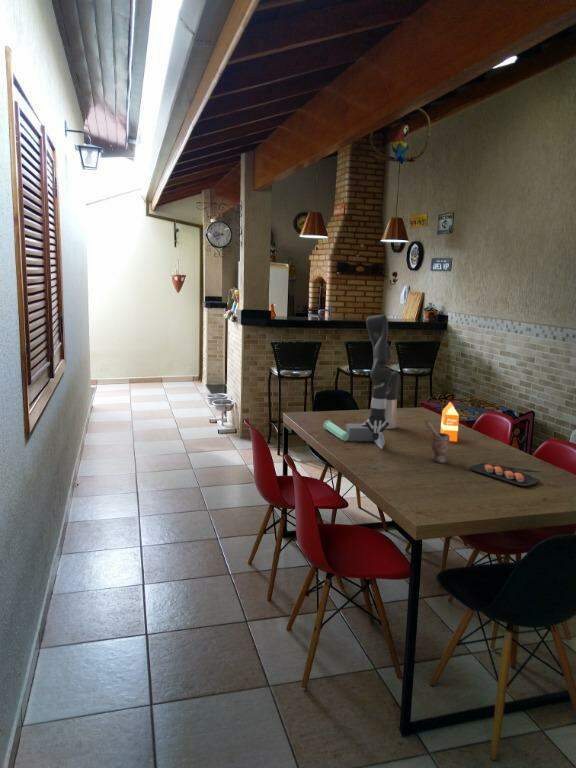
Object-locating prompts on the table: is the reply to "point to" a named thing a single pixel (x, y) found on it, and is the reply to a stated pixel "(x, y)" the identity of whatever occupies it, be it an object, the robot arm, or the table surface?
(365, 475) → the table surface
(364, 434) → the camera case
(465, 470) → the table surface
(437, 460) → the mortar and pestle
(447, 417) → the orange juice
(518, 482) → the sushi plate
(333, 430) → the mint green bar
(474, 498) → the table surface
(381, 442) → the side door
